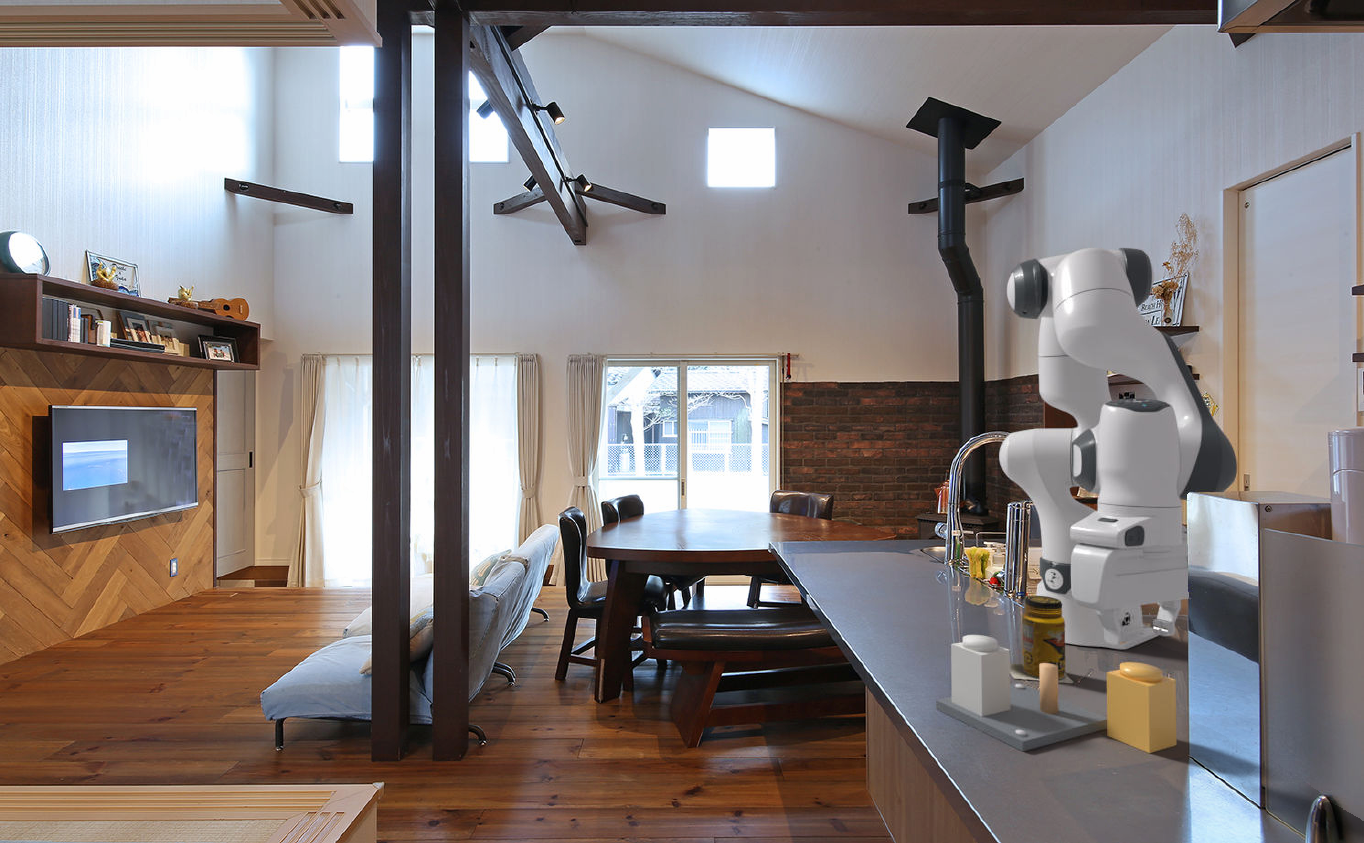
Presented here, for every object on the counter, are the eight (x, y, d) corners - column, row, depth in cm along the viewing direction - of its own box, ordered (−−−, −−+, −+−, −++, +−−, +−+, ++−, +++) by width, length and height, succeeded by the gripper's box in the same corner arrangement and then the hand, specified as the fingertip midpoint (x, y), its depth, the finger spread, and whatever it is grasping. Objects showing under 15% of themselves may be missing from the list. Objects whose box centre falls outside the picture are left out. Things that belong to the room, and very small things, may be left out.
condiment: (1074, 684, 105) (1073, 605, 106) (1014, 679, 107) (1013, 602, 107) (1059, 668, 113) (1058, 594, 113) (1003, 664, 114) (1002, 591, 115)
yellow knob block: (1133, 728, 90) (1133, 658, 90) (1176, 745, 85) (1175, 671, 85) (1107, 735, 88) (1106, 664, 88) (1149, 753, 83) (1148, 677, 83)
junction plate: (1018, 690, 103) (1017, 622, 103) (1110, 727, 90) (1109, 649, 90) (936, 708, 96) (935, 635, 96) (1022, 751, 83) (1021, 666, 83)
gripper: (1164, 521, 93) (1166, 624, 93) (1060, 528, 85) (1061, 641, 85) (1216, 526, 88) (1218, 636, 87) (1109, 534, 79) (1111, 655, 79)
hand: (1140, 638), depth 86 cm, fingers open, 8 cm apart
